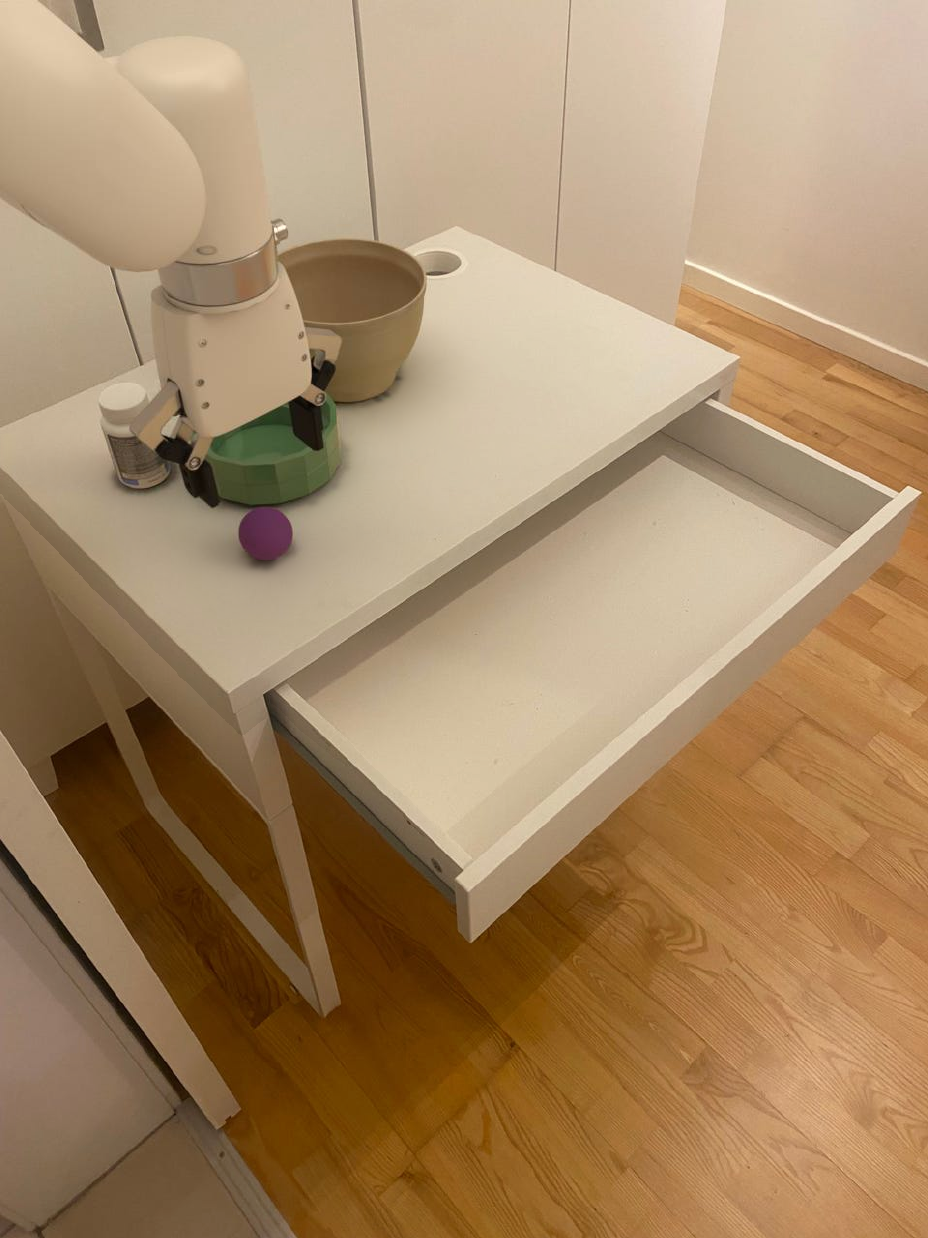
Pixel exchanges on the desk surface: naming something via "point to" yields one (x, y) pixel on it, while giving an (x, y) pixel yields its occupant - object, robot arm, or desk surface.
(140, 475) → the pill bottle
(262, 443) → the bowl
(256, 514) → the ball
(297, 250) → the planter bowl
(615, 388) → the desk surface
